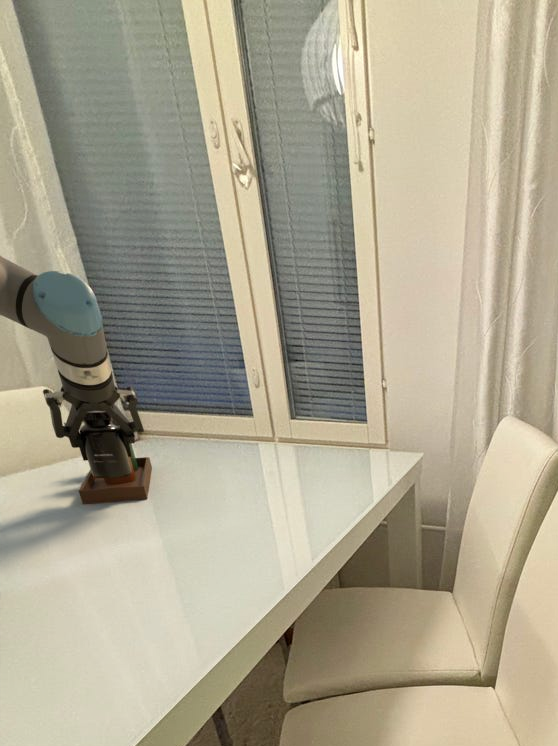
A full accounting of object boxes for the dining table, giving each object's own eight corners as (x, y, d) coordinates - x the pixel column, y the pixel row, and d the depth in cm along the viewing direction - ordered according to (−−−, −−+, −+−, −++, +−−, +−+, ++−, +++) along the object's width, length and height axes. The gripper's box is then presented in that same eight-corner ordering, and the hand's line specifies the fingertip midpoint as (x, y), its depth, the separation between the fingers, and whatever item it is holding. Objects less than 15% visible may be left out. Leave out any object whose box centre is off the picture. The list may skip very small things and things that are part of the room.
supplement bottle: (104, 481, 105) (83, 414, 99) (86, 475, 108) (64, 410, 102) (140, 474, 110) (121, 410, 104) (122, 469, 113) (103, 407, 107)
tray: (82, 504, 107) (78, 491, 106) (98, 471, 130) (95, 460, 129) (147, 499, 112) (143, 486, 110) (152, 467, 134) (149, 457, 133)
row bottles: (103, 484, 118) (85, 425, 112) (110, 468, 130) (94, 414, 124) (135, 482, 120) (119, 424, 114) (139, 466, 133) (124, 413, 127)
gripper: (16, 390, 85) (51, 474, 104) (158, 386, 95) (166, 463, 114) (3, 349, 86) (40, 440, 105) (145, 350, 96) (155, 433, 115)
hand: (106, 452), depth 110 cm, fingers closed on supplement bottle, 7 cm apart
